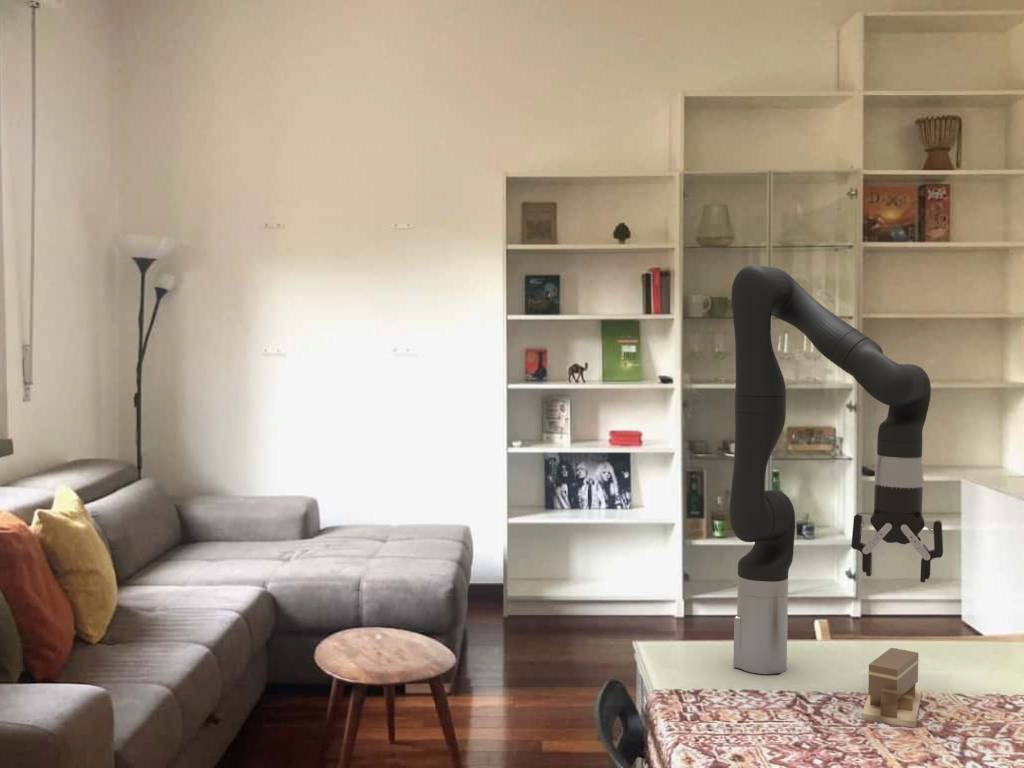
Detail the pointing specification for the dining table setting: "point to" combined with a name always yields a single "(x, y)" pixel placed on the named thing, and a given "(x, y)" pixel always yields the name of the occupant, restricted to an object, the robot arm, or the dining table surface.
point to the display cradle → (894, 707)
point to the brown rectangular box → (893, 672)
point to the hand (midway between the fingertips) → (895, 578)
